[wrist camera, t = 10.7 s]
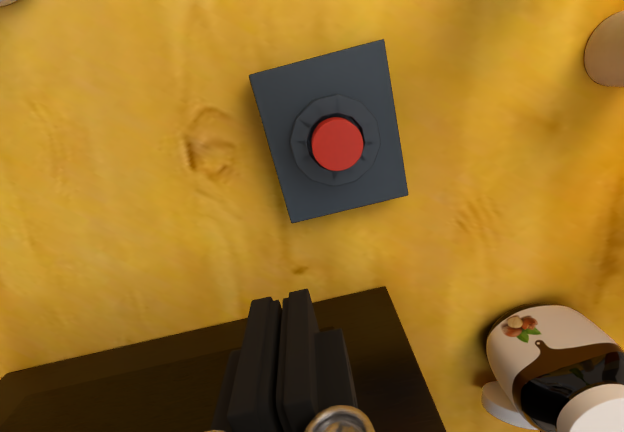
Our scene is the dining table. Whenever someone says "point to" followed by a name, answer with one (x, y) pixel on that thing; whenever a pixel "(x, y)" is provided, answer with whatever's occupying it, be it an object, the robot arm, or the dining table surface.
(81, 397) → the oven door
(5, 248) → the dining table surface
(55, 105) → the dining table surface
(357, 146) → the timer button
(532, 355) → the spread jar
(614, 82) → the candle
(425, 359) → the dining table surface
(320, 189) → the dark grey flat block
